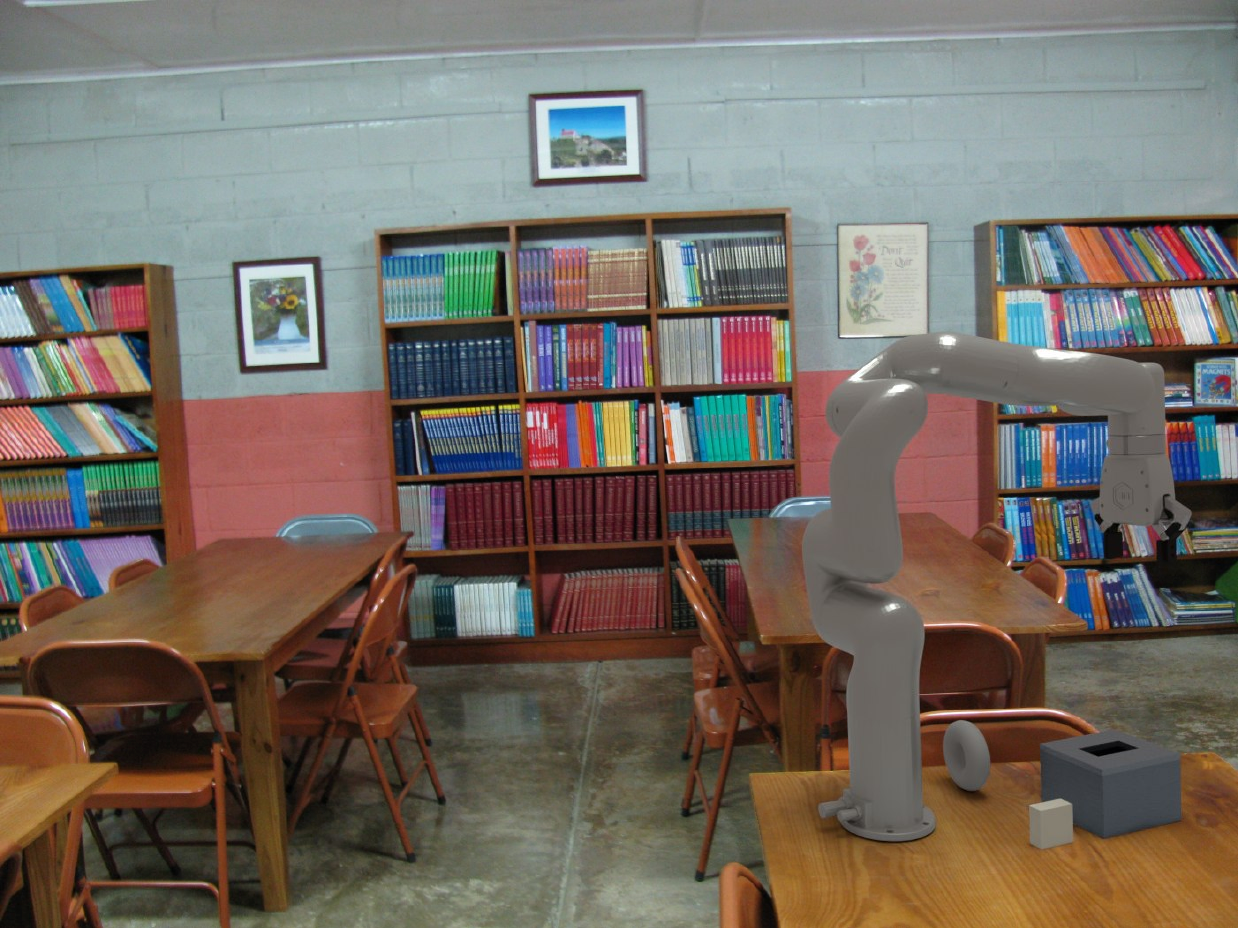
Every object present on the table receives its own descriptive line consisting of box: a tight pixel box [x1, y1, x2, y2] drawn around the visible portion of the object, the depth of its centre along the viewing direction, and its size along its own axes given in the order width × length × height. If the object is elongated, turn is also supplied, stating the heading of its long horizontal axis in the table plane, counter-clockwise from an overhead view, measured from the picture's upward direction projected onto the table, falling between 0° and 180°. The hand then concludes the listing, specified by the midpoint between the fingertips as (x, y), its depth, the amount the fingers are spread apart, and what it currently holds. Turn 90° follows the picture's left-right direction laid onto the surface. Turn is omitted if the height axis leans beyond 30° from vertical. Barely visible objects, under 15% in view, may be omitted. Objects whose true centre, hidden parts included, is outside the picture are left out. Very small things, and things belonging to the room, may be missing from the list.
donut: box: [942, 719, 991, 792], centre depth 147 cm, size 10×3×10 cm, turn 10°
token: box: [1028, 798, 1074, 850], centre depth 129 cm, size 5×2×5 cm, turn 109°
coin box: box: [1039, 729, 1183, 840], centre depth 136 cm, size 13×11×9 cm
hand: (1139, 562), depth 150 cm, fingers open, 9 cm apart
